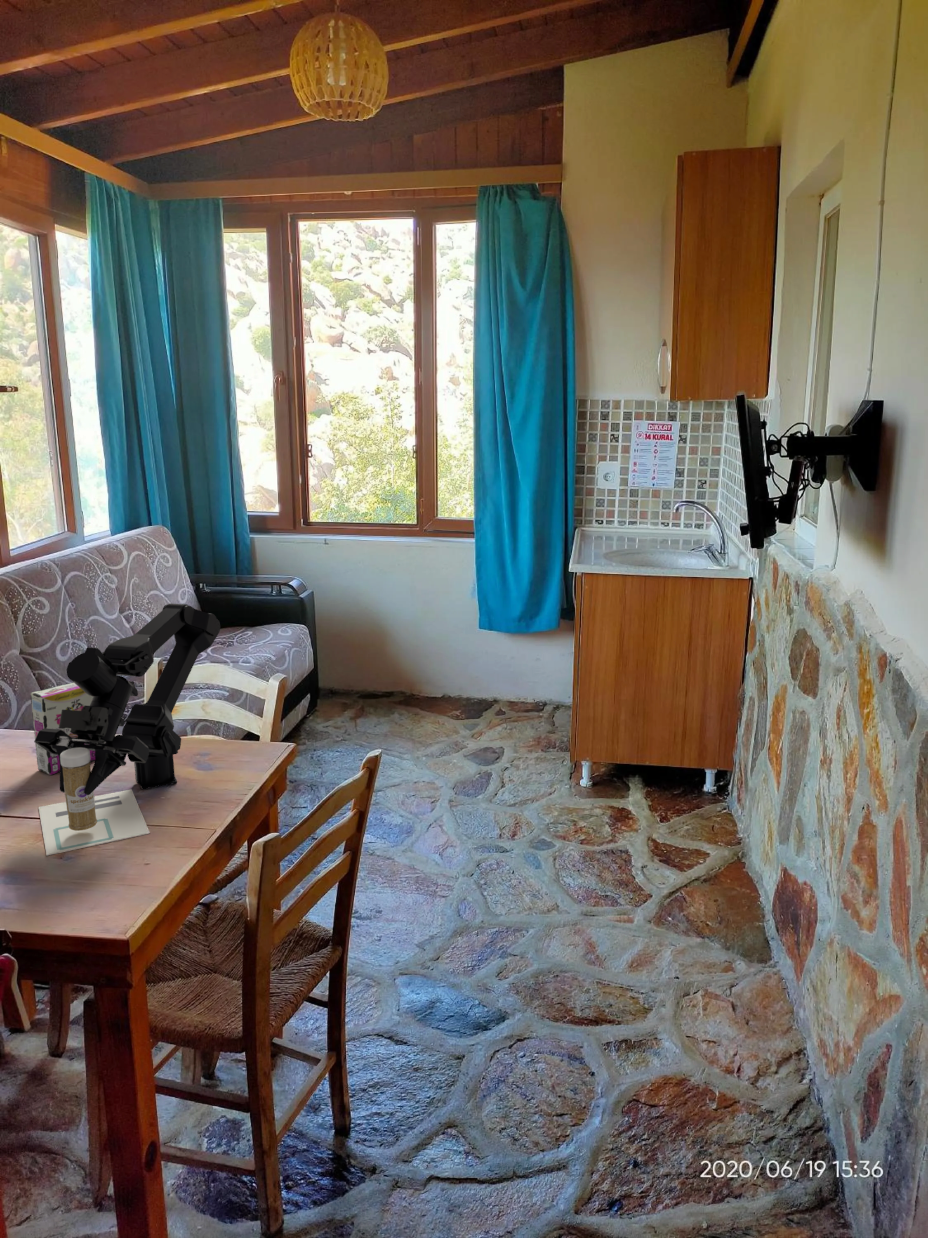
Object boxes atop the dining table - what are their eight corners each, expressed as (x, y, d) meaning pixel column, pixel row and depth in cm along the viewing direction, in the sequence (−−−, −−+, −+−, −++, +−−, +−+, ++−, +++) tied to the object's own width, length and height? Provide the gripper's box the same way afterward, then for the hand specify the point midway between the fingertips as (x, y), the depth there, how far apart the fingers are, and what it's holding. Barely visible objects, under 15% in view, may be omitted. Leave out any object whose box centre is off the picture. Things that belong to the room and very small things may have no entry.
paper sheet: (131, 790, 165) (131, 789, 165) (149, 833, 148) (149, 832, 148) (38, 807, 158) (38, 806, 158) (46, 855, 141) (46, 854, 141)
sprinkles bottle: (78, 834, 145) (69, 759, 141) (63, 827, 147) (54, 752, 144) (103, 824, 148) (95, 750, 145) (88, 816, 151) (79, 744, 148)
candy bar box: (50, 776, 171) (41, 697, 168) (37, 770, 174) (28, 692, 170) (102, 759, 180) (95, 683, 176) (88, 753, 183) (81, 679, 179)
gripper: (34, 683, 148) (-4, 770, 140) (133, 691, 144) (99, 780, 136) (69, 712, 157) (35, 794, 149) (163, 719, 153) (133, 804, 145)
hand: (74, 793), depth 145 cm, fingers closed on sprinkles bottle, 4 cm apart
